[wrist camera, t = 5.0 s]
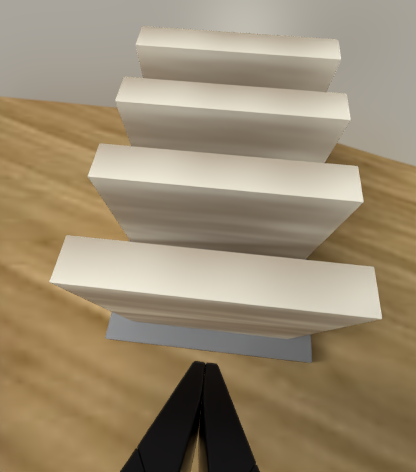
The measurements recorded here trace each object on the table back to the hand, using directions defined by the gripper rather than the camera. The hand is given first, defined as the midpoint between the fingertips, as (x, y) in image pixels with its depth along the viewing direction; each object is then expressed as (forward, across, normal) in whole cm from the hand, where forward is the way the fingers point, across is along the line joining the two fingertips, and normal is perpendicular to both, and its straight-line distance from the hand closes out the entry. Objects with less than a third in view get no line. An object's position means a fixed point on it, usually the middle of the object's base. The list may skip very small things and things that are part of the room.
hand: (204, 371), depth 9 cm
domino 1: (+7, 0, +3) cm, 8 cm away
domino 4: (+16, 0, -5) cm, 17 cm away
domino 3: (+13, 0, -2) cm, 13 cm away
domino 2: (+10, 0, +1) cm, 10 cm away
